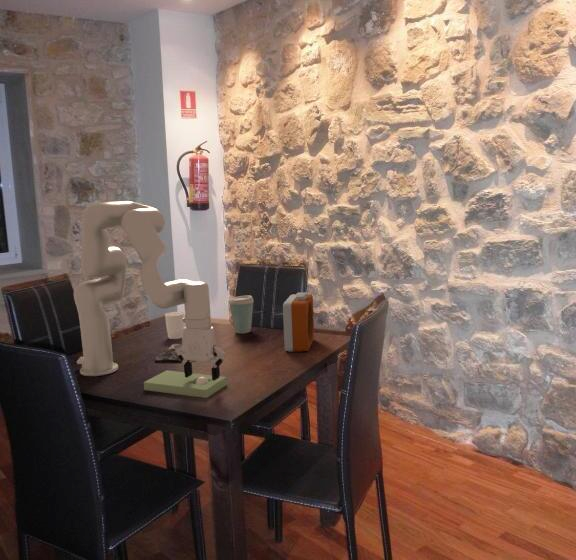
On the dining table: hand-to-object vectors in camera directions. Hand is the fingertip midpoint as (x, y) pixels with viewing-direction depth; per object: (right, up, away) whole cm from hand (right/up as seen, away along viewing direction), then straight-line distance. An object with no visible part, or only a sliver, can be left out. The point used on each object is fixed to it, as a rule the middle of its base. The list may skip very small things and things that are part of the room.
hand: (202, 377), depth 179 cm
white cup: (-20, +6, +65) cm, 68 cm away
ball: (0, -2, 0) cm, 2 cm away
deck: (-6, -4, +3) cm, 7 cm away
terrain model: (-12, +1, +39) cm, 41 cm away
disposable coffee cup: (+7, +8, +69) cm, 70 cm away
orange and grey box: (+31, +4, +44) cm, 54 cm away
